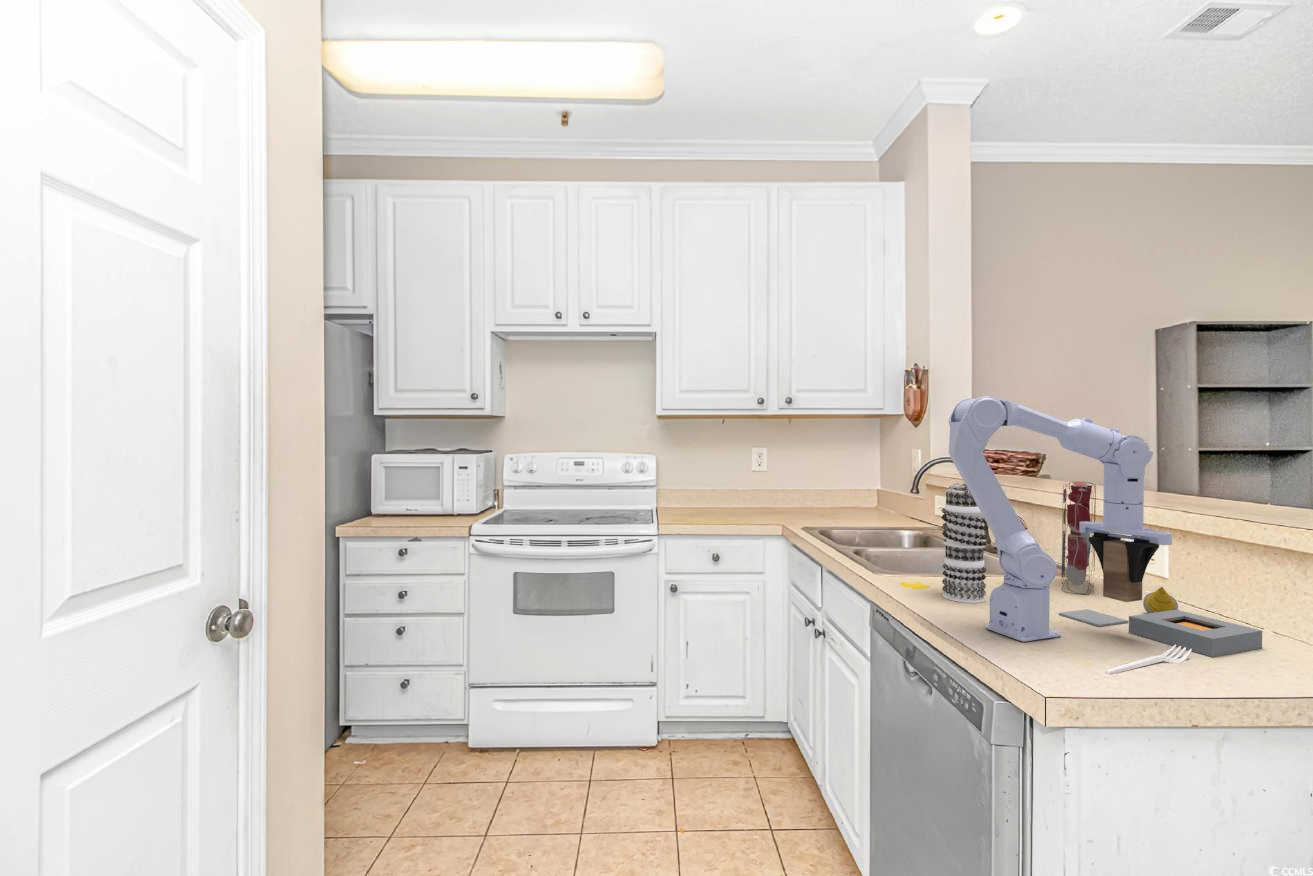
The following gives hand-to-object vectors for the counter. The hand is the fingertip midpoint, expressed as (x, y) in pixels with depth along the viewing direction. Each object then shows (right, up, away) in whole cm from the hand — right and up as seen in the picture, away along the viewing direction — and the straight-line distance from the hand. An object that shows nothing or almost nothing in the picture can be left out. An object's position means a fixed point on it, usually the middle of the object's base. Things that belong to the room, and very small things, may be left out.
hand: (1122, 578), depth 110 cm
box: (+14, -10, +32) cm, 37 cm away
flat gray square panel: (+2, -10, +11) cm, 15 cm away
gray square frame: (+11, -11, -1) cm, 16 cm away
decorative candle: (-15, -10, +26) cm, 32 cm away
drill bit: (+17, -11, +12) cm, 23 cm away
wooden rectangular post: (0, -4, 0) cm, 3 cm away
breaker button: (+12, -9, -1) cm, 15 cm away
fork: (-6, -11, -13) cm, 18 cm away
